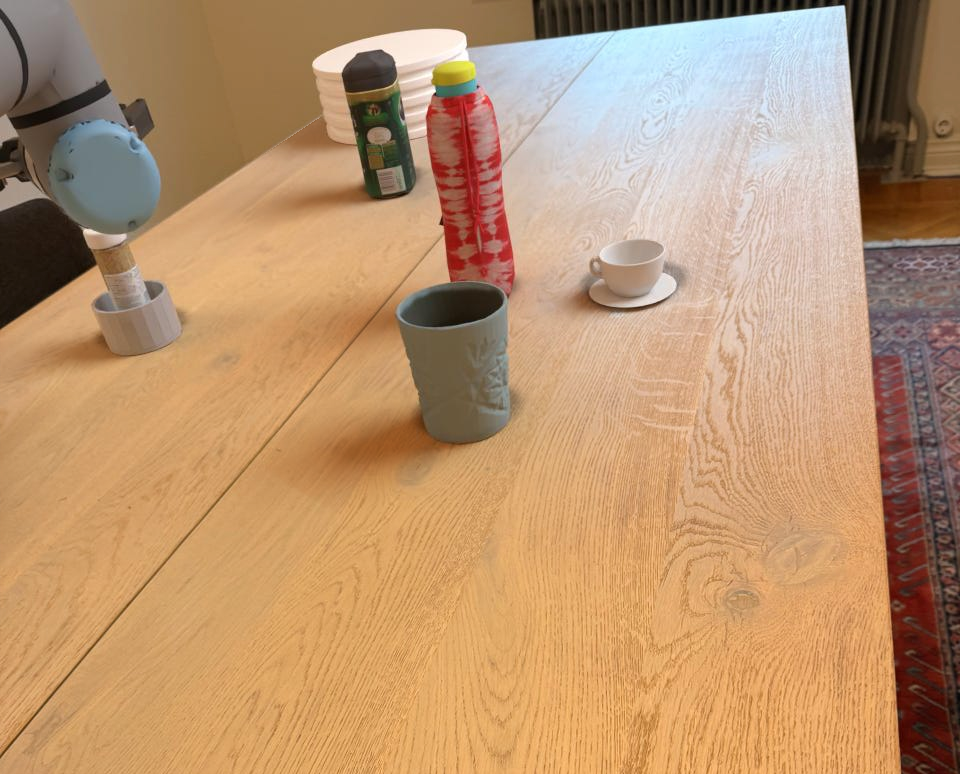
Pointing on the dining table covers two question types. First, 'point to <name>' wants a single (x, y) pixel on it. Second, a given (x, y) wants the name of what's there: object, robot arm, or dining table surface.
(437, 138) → the water bottle
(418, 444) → the dining table surface
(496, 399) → the grey embossed cup
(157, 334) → the grey faceted cup
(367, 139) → the coffee jar
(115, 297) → the sprinkles bottle
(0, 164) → the robot arm
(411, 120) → the plate stack
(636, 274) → the teacup
